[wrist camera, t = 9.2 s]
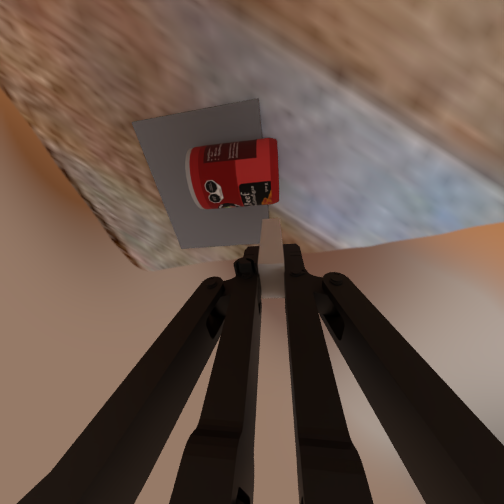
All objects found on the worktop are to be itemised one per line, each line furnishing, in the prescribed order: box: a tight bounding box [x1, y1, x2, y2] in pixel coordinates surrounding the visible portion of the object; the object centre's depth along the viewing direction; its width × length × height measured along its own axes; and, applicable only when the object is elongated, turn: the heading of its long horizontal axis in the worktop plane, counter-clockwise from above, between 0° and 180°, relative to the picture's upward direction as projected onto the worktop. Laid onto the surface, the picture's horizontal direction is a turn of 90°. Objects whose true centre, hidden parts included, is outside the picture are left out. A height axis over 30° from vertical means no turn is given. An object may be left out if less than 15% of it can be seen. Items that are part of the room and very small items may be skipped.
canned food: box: [185, 138, 279, 209], centre depth 25 cm, size 8×8×11 cm
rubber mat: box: [132, 99, 269, 249], centre depth 30 cm, size 21×18×1 cm
